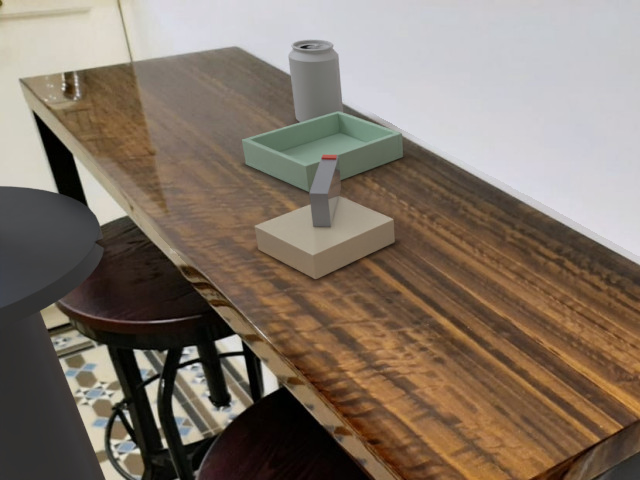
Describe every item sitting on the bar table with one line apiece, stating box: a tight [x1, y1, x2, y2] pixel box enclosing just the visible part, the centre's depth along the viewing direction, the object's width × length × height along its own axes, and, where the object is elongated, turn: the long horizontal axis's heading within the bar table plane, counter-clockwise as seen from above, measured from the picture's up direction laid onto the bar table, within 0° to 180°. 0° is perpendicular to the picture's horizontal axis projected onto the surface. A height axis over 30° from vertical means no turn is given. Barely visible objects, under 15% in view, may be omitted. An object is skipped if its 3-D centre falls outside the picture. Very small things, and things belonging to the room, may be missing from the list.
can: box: [287, 39, 344, 123], centre depth 116 cm, size 8×8×12 cm
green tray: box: [241, 111, 404, 193], centre depth 106 cm, size 18×14×4 cm
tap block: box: [253, 195, 396, 280], centre depth 85 cm, size 12×10×3 cm
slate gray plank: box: [308, 155, 342, 227], centre depth 86 cm, size 11×2×4 cm, turn 3°
